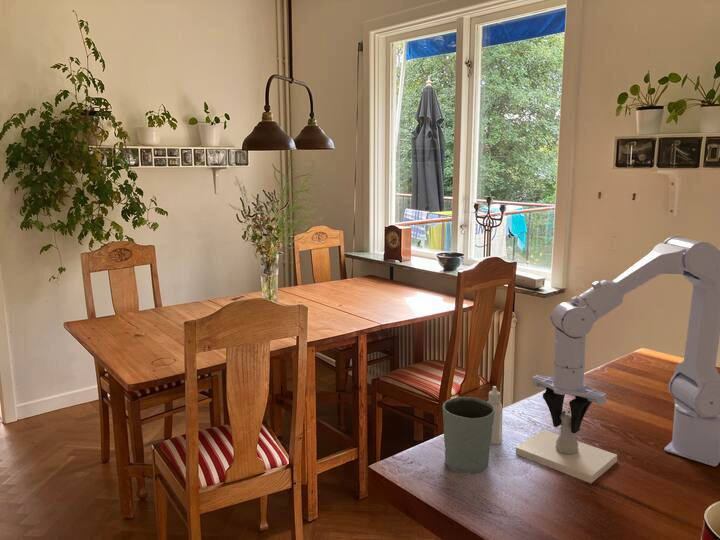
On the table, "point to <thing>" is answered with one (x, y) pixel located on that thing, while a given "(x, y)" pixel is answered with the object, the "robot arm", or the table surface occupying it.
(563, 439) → the rook chess piece
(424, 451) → the table surface
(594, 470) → the cream tile
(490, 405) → the green cup
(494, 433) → the eye dropper bottle
